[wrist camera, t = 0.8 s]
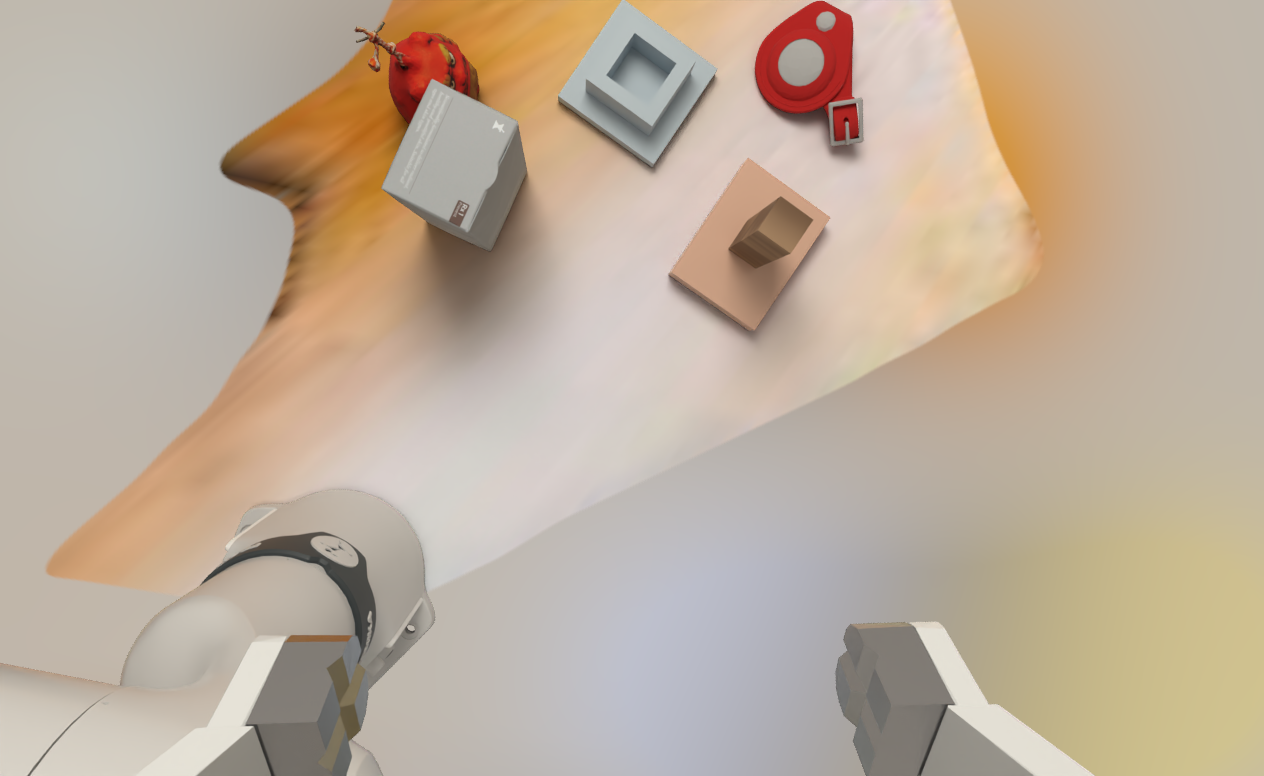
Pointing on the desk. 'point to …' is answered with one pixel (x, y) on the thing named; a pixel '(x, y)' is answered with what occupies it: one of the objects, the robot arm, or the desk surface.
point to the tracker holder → (813, 69)
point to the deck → (727, 274)
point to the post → (771, 233)
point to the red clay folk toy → (422, 67)
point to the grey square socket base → (637, 83)
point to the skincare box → (458, 165)
